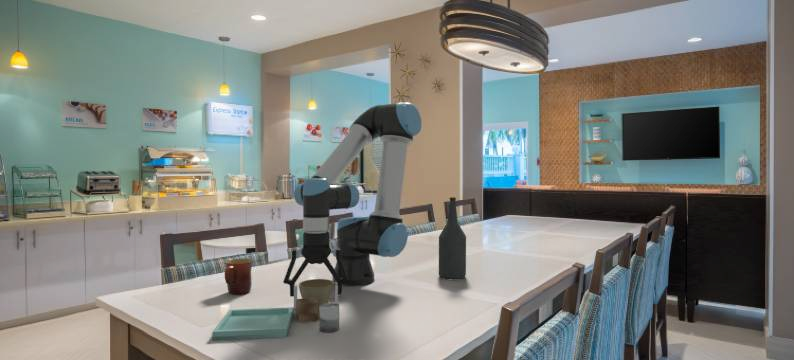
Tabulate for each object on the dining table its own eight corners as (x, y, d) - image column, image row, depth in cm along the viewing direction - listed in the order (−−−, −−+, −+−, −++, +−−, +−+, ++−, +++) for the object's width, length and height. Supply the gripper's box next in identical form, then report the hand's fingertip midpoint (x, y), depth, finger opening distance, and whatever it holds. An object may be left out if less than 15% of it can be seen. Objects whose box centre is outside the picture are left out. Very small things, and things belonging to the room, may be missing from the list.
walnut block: (314, 315, 125) (314, 297, 125) (318, 320, 120) (318, 302, 120) (296, 317, 123) (296, 299, 123) (299, 323, 118) (299, 304, 118)
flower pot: (301, 302, 136) (301, 279, 136) (334, 302, 137) (334, 278, 137) (296, 313, 126) (296, 287, 126) (332, 312, 127) (332, 287, 127)
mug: (234, 288, 153) (234, 257, 153) (258, 289, 151) (258, 259, 151) (213, 297, 141) (213, 265, 141) (239, 299, 139) (239, 266, 139)
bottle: (470, 276, 172) (470, 197, 171) (459, 281, 163) (459, 198, 163) (445, 272, 177) (446, 196, 176) (433, 277, 169) (434, 197, 168)
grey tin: (339, 325, 116) (339, 302, 116) (339, 332, 111) (339, 308, 111) (319, 326, 116) (319, 303, 116) (318, 333, 111) (318, 309, 111)
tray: (293, 314, 125) (293, 307, 125) (286, 337, 108) (286, 328, 108) (229, 317, 123) (229, 309, 123) (212, 340, 106) (212, 331, 106)
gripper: (356, 229, 137) (356, 301, 137) (276, 230, 134) (276, 304, 134) (357, 232, 129) (357, 309, 130) (272, 233, 126) (272, 312, 126)
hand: (316, 306), depth 132 cm, fingers open, 11 cm apart
